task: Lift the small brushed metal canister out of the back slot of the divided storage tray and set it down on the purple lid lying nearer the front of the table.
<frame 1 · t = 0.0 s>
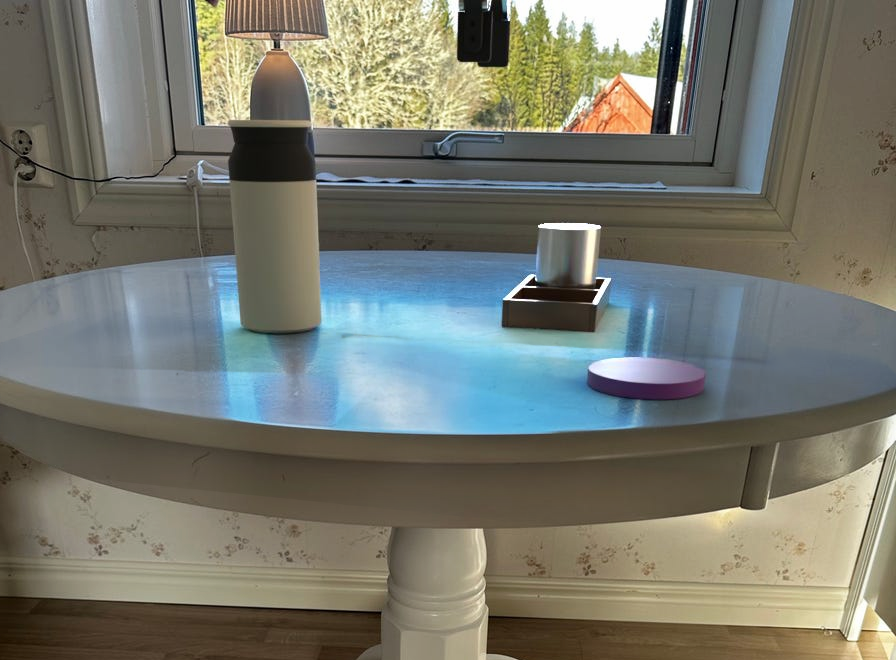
hand: (483, 64, 94), 23 cm above the table, tool pointing down, fingers open, 9 cm apart
brushed metal canister: (563, 306, 103), point 1 cm above the table, touching divided storage tray
divided storage tray: (558, 319, 99), on the table
purple lid: (644, 385, 75), on the table
travel mug: (281, 328, 95), on the table
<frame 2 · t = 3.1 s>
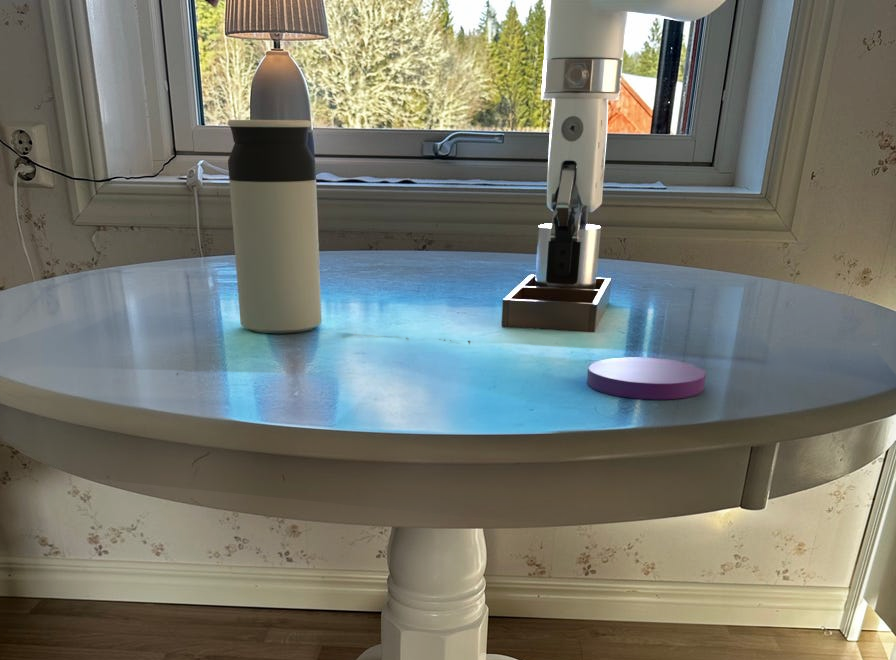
hand: (565, 276, 101), 4 cm above the table, tool pointing down, fingers closed on brushed metal canister, 6 cm apart
brushed metal canister: (563, 306, 103), point 1 cm above the table, touching divided storage tray, gripper
everything else where it was.
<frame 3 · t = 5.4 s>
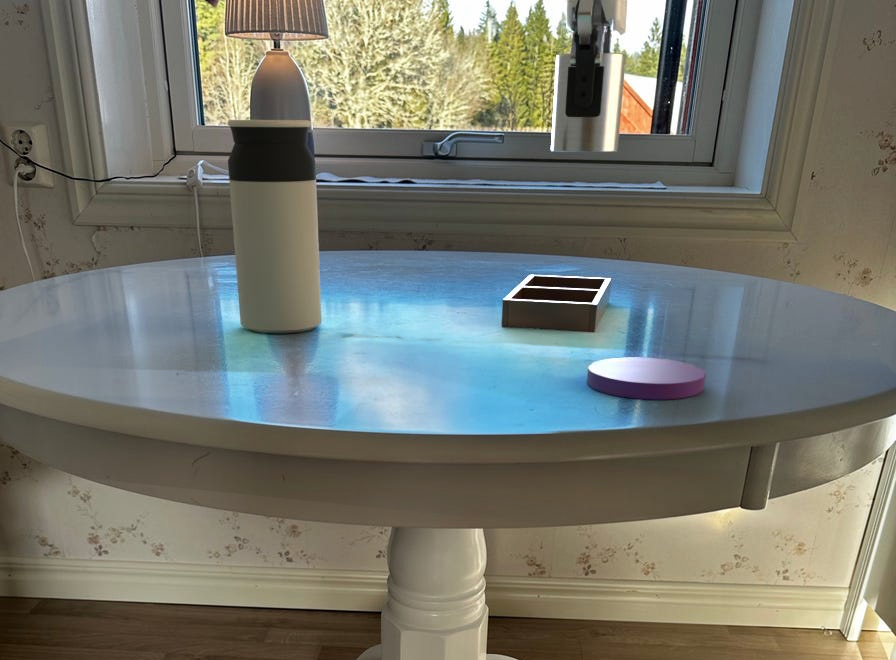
hand: (586, 115, 91), 19 cm above the table, tool pointing down, fingers closed on brushed metal canister, 6 cm apart
brushed metal canister: (584, 151, 93), point 16 cm above the table, touching gripper
everything else where it was.
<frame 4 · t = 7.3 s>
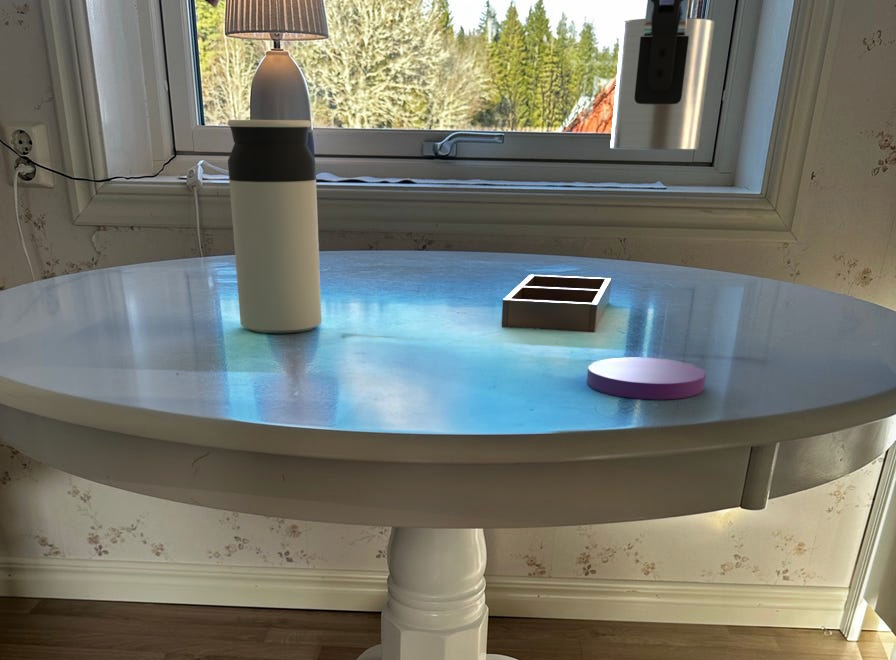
hand: (659, 101, 70), 19 cm above the table, tool pointing down, fingers closed on brushed metal canister, 6 cm apart
brushed metal canister: (653, 148, 71), point 16 cm above the table, touching gripper
everything else where it was.
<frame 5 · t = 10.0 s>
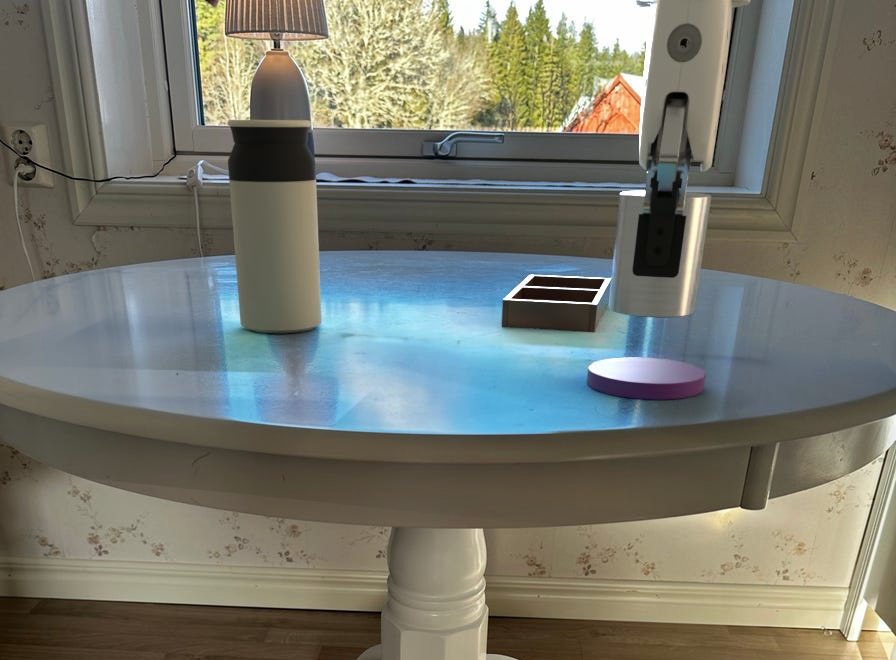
hand: (656, 267, 71), 9 cm above the table, tool pointing down, fingers closed on brushed metal canister, 6 cm apart
brushed metal canister: (650, 310, 72), point 6 cm above the table, touching gripper
everything else where it was.
when the fingers open (4 cm above the table, at t = 11.7 s): brushed metal canister stays where it is, resting on purple lid.
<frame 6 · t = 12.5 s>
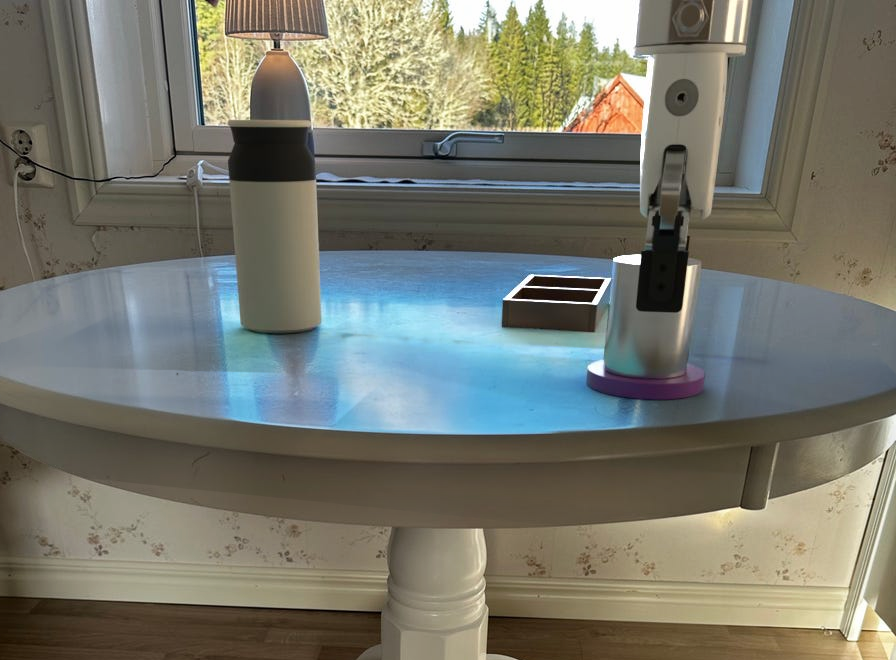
hand: (660, 299, 72), 6 cm above the table, tool pointing down, fingers open, 9 cm apart
brushed metal canister: (644, 369, 74), point 1 cm above the table, touching purple lid
purple lid: (644, 385, 75), on the table, touching brushed metal canister
everything else where it was.
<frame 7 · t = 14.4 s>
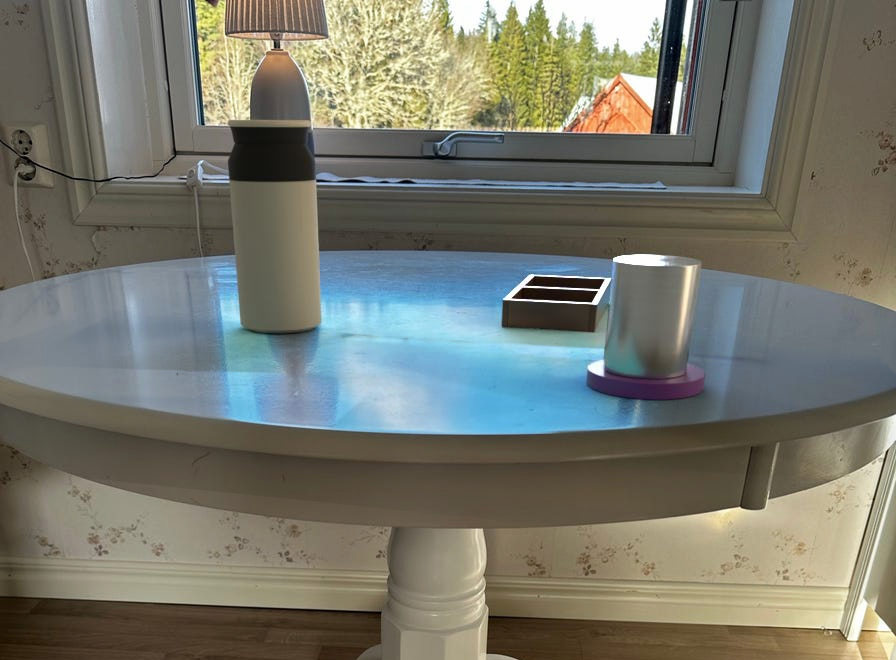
nothing on the table moved.
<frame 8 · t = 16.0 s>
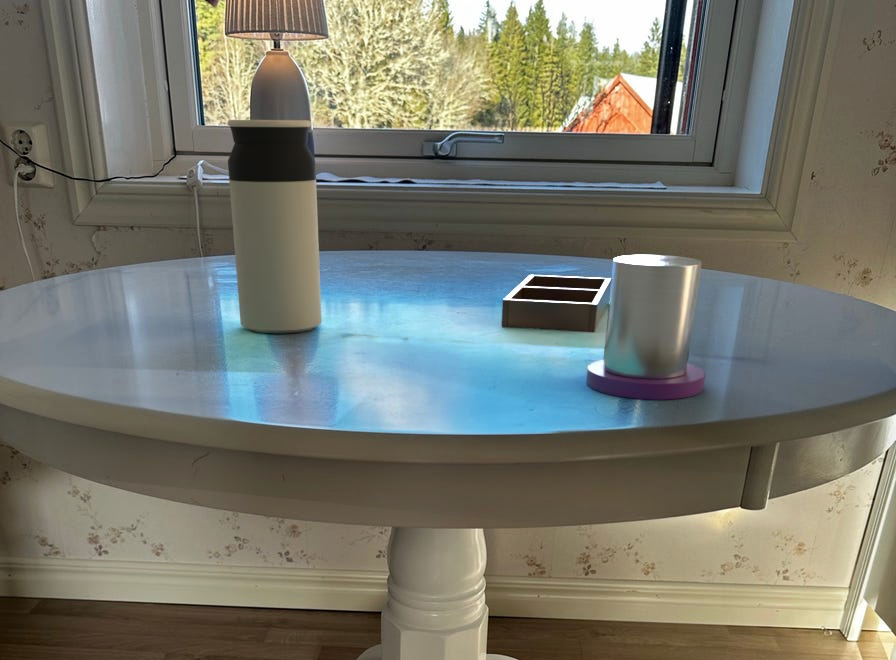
nothing on the table moved.
at the end: brushed metal canister 0.1 cm off-centre on the purple lid, point 1.2 cm above the purple lid's base; brushed metal canister tilted 0°; brushed metal canister moved 31.8 cm from its start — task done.
